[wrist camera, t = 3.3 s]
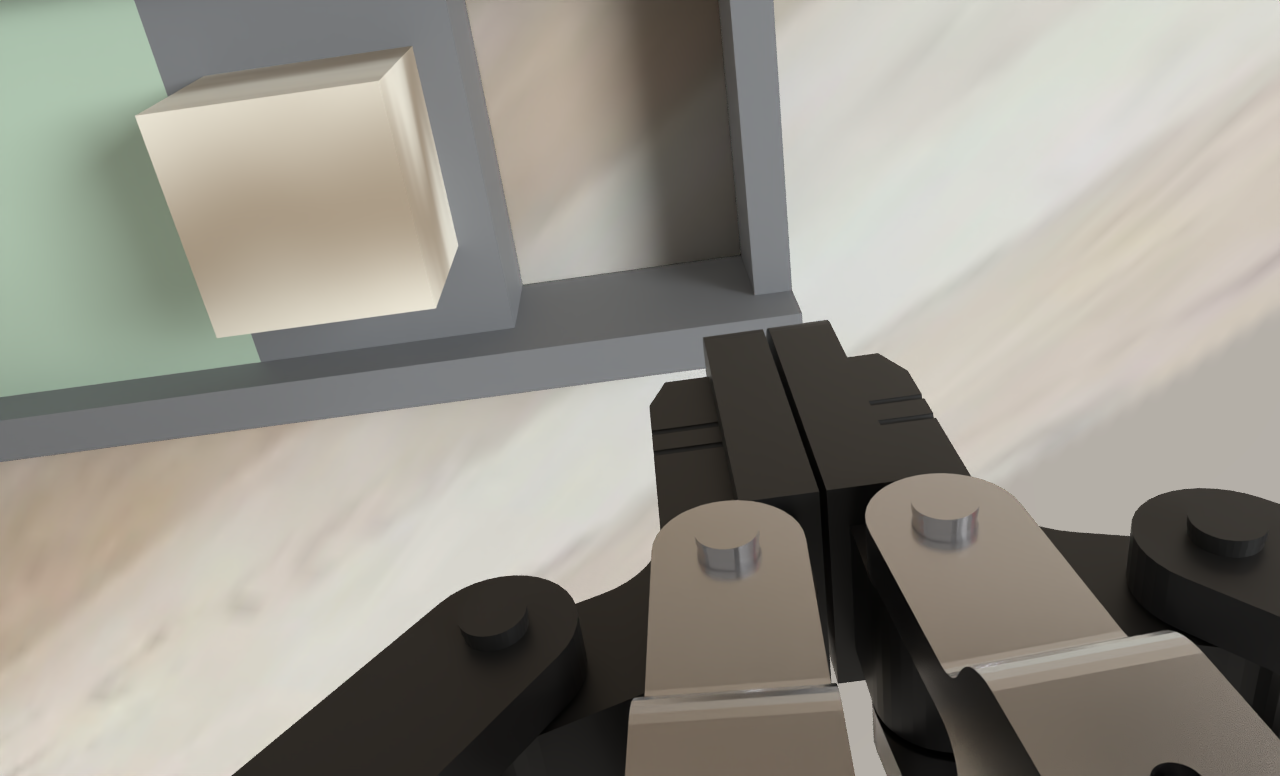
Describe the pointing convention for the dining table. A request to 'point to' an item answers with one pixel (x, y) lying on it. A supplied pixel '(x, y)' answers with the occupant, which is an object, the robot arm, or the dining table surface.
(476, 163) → the trap lane
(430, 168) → the block
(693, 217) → the dining table surface
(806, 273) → the dining table surface
